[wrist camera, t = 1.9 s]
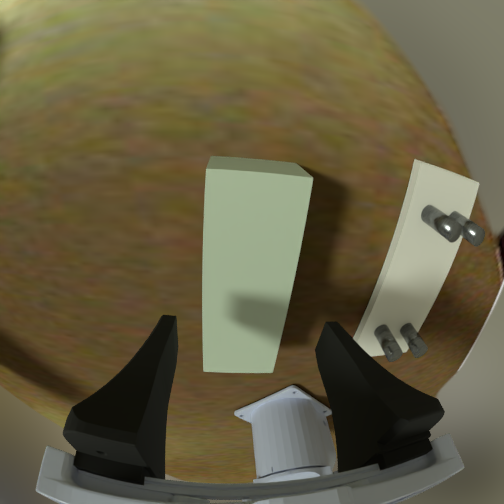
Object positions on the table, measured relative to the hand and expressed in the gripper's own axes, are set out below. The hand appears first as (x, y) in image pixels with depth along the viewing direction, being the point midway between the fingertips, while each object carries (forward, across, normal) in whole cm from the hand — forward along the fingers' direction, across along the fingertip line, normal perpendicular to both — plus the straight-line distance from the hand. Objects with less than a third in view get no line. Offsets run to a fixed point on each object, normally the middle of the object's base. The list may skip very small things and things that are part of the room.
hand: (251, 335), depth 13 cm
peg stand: (+7, -14, 0) cm, 16 cm away
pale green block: (+7, 0, 0) cm, 7 cm away
